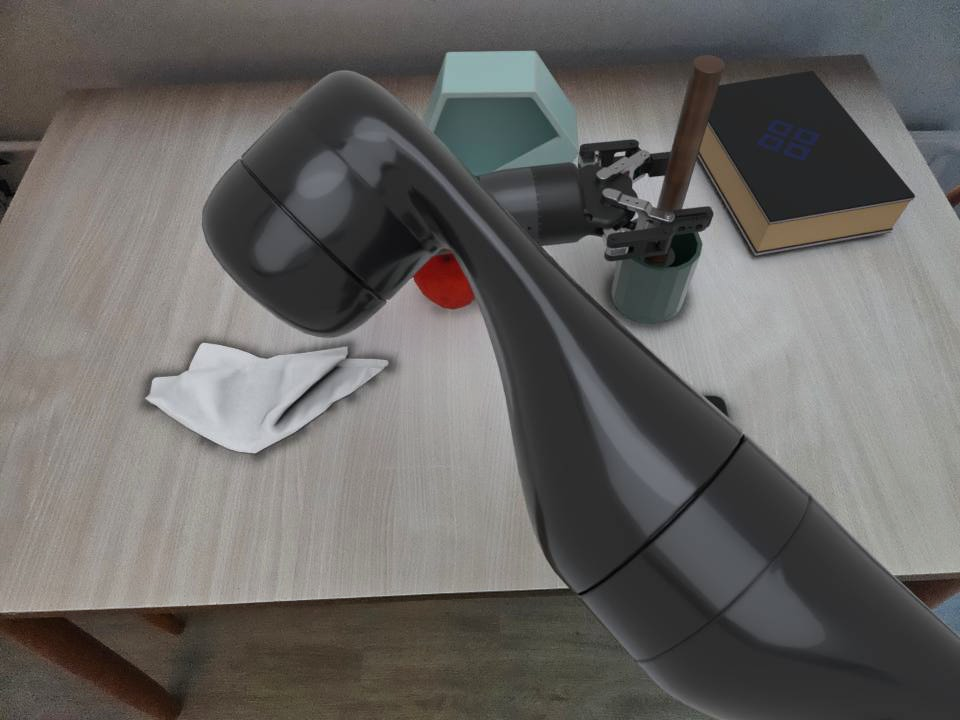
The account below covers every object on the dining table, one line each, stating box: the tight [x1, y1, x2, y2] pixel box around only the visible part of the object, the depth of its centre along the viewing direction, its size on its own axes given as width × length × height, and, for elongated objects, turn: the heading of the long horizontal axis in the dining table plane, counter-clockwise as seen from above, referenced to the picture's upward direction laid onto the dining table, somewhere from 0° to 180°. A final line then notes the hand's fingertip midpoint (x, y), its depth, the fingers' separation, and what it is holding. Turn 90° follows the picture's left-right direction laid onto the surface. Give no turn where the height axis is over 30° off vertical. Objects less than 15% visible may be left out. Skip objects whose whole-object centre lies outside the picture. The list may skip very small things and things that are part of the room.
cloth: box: [144, 342, 390, 454], centre depth 69 cm, size 26×14×2 cm, turn 85°
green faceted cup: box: [610, 217, 703, 324], centre depth 71 cm, size 8×8×9 cm
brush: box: [637, 54, 725, 268], centre depth 62 cm, size 4×4×28 cm
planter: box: [421, 50, 580, 177], centre depth 78 cm, size 17×8×21 cm
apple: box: [412, 254, 476, 310], centre depth 73 cm, size 9×9×8 cm
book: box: [697, 70, 916, 257], centre depth 82 cm, size 17×25×7 cm
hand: (697, 188), depth 62 cm, fingers open, 7 cm apart
